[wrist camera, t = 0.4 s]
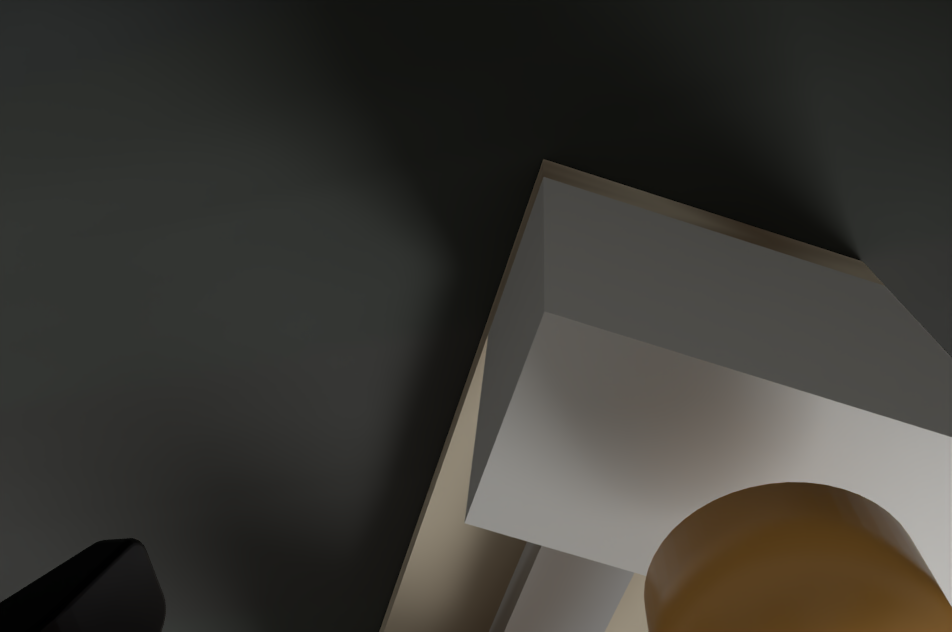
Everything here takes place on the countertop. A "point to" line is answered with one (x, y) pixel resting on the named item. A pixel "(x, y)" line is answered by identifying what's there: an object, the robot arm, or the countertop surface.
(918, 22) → the countertop surface
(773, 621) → the plunger
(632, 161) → the countertop surface
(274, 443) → the countertop surface
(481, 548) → the rail track
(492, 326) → the cabinet
